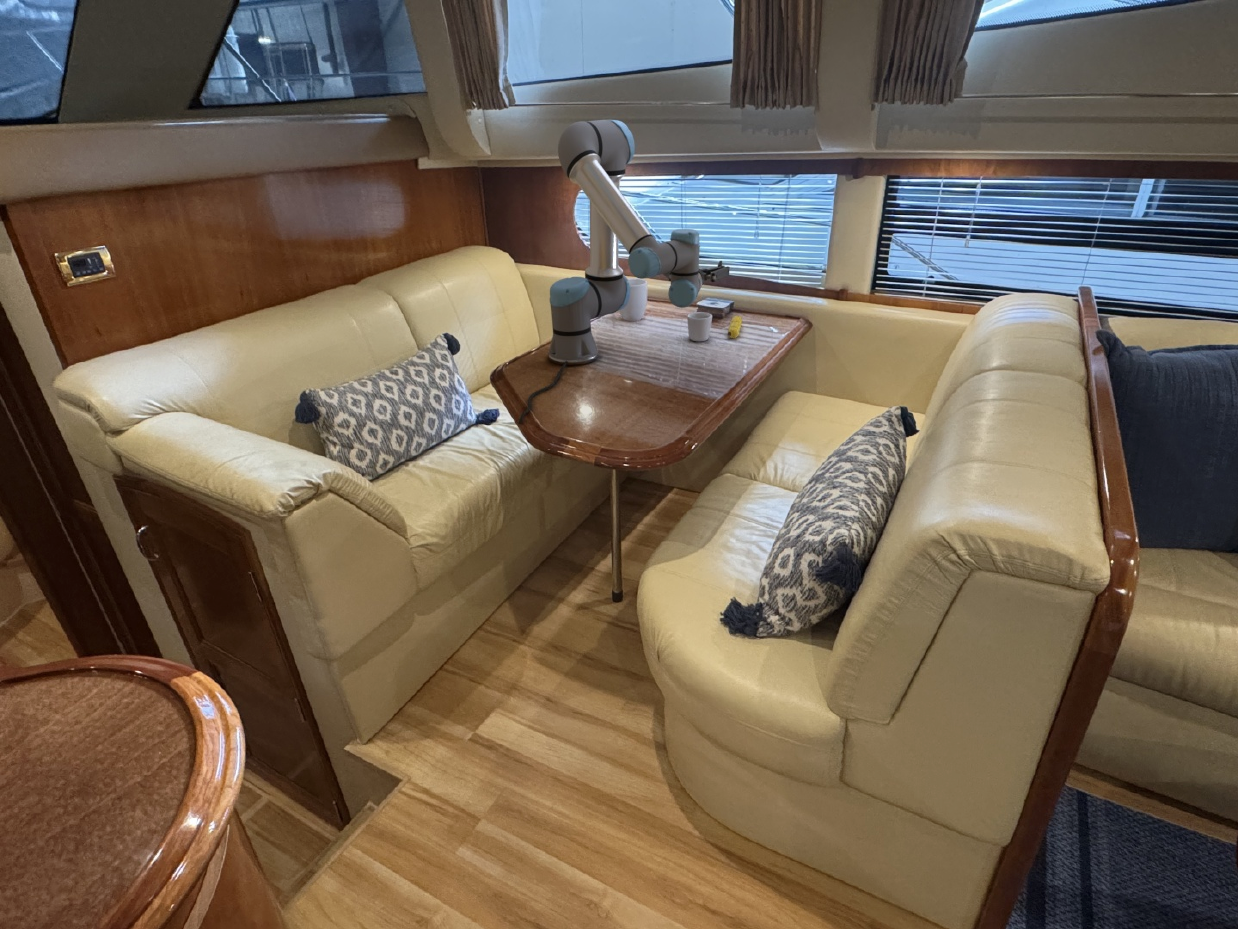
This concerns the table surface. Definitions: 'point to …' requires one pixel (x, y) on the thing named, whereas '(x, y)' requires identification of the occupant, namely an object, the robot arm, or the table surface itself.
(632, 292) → the mug
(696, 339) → the cup
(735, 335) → the yellow bumpy cylinder
